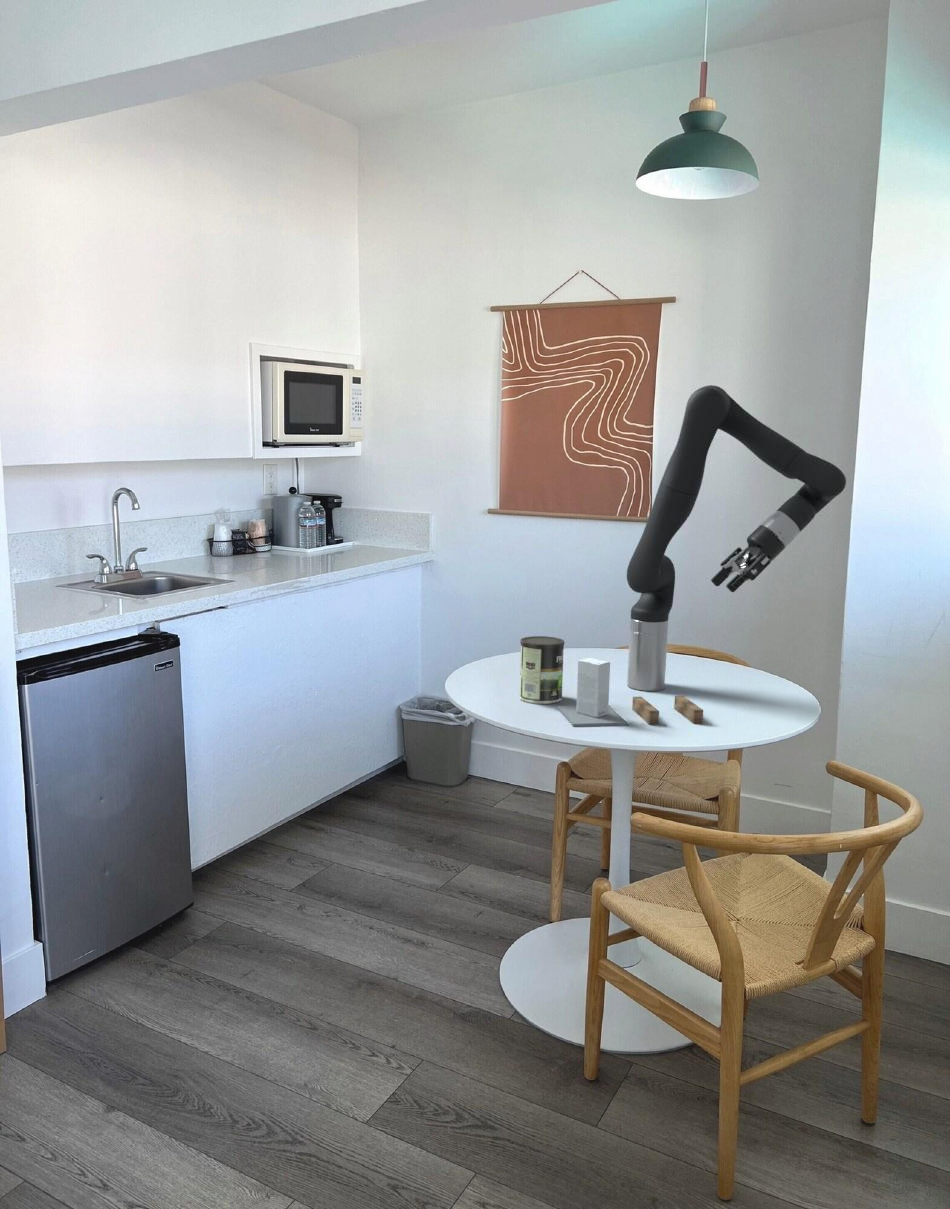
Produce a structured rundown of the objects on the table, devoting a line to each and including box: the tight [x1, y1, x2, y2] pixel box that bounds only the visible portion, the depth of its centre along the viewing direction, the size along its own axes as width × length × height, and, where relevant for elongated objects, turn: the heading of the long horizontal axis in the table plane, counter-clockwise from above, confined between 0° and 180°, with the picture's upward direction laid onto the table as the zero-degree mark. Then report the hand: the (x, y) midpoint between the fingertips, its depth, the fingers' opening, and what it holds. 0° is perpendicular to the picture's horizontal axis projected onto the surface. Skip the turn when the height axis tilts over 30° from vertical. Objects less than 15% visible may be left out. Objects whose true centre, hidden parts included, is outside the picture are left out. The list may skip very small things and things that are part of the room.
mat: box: [557, 705, 628, 728], centre depth 209 cm, size 14×12×1 cm
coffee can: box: [518, 635, 565, 705], centre depth 222 cm, size 10×10×14 cm
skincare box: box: [575, 657, 611, 718], centre depth 208 cm, size 6×4×12 cm
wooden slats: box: [631, 695, 704, 726], centre depth 210 cm, size 12×12×3 cm
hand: (721, 586), depth 212 cm, fingers open, 8 cm apart
